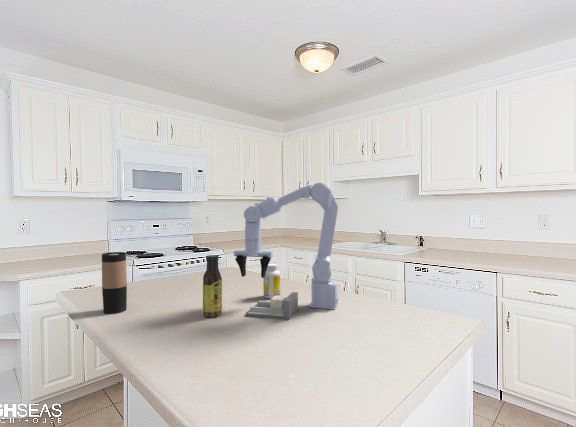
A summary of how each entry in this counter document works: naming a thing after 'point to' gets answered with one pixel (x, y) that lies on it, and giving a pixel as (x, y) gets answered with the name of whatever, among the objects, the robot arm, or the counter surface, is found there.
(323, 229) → the robot arm
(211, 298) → the sauce bottle
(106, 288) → the travel mug
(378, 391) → the counter surface
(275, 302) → the block
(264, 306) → the board
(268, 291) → the supplement bottle
